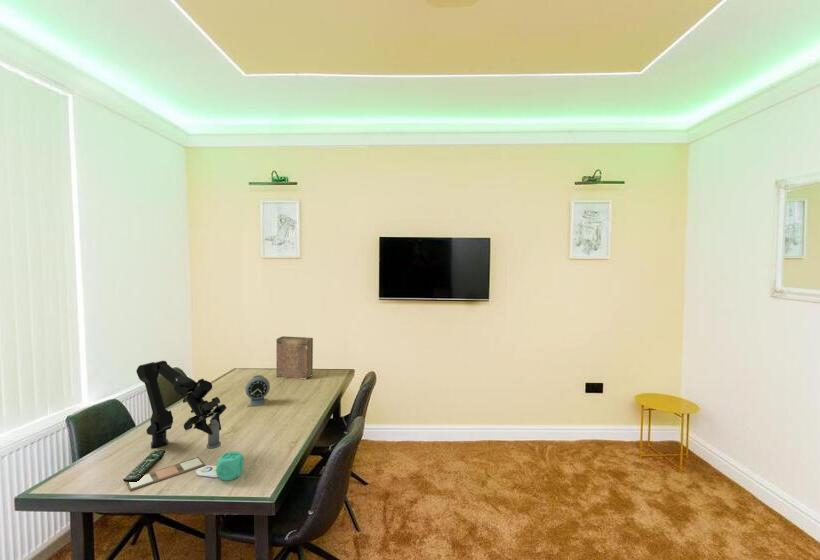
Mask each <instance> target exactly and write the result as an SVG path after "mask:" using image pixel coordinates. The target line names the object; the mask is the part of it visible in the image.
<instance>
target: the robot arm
mask: <svg viewBox="0 0 820 560" xmlns="http://www.w3.org/2000/svg"><path fill="white" fill-rule="evenodd" d="M136 374H137V377H138V379H139V380H140V381H141V382H142V383H143V384H145V389H146V393H147V396H148V400H149V404H150V407H151V408H150V409H151V413H152V414H151V418H150V419H149V420H150V425H149V426H148V427H147V428H146V435H149V436H151V441H150V448H151V449H155V448H160V447H164V446H168V441H169V440H168V438H167V431H168V430H171V428H172V426H173V424H174V416H173V413H172V411H171V410H167V409H166V407H165V403H164V400H163V396H162V392H161V389H160V385H159V382H158V378H159V375H161V376H162V377H163V378H164V379H166V380H167V381H168V382H170V384H172V386H173V390H174V391H175V393H177V395H178V396H183V395H185V396H183V399H182V403H183V404H184V403H187V404H188V406H189V407H190V409H191V410H190V412H191V414H194V416H192V417H189V418H188V419H187V420H186V421H185V422H184V423H183V429H184V431H188V430H191V429H192V428H193V429H194V430H195V429H196V430H200V431H202V432H203V433H205V434H207V435H208V434H210V435H212V434H213V433H212V431H211V429H210V428H209V426H208V422H207V419H208V418H210V419H209V423H210V422H211V420H213V419H215V420H217V422H219V431H222V426H221V421H220V420H221V419H220V415H222V414H223V413H224V411H226V409H227V406H226V404H224V403H223V404H221V400H220V398H219V397H218V396H216V397H213V398H211V401H209V400H205V399H204V398H205V397H206V396H207V395H208V394H209V392H210V391H211V390H212V389H213V384H212V382H210V381H209V380H207V379H206V380H205V379H204V378H200V379H198V381H195V379H194V380H193V379H192V378H191V377H188V376H183V375H182V374H180V373H179V372H178V371H176V369H174V368H173V367H172V366H171V365H169V364H168V362H167V361H166V360H160V361H156V362H155V361H153V362H147V363H144V364H141V365H140V364H139V365H138V367H137V368H136ZM193 425H194V427H193Z"/></svg>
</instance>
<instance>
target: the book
mask: <svg viewBox="0 0 820 560" xmlns="http://www.w3.org/2000/svg"><path fill="white" fill-rule="evenodd" d="M313 349H314V338H313V337H305V336H303V337H302V336H285V335H284V336H283V335H282V336H280V337H278V338H276V378H278V377H287V378H286V379H291V378H306V379H308V380H309V378H310V377H312V376H313V373H314V372H313V370H314V369H313V367H314V366H313V365H314V364H313V363H314V362H313V361H314V360H313V358H314V353H313V352H314V350H313ZM311 375H312V376H311ZM308 377H309V378H308Z"/></svg>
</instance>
